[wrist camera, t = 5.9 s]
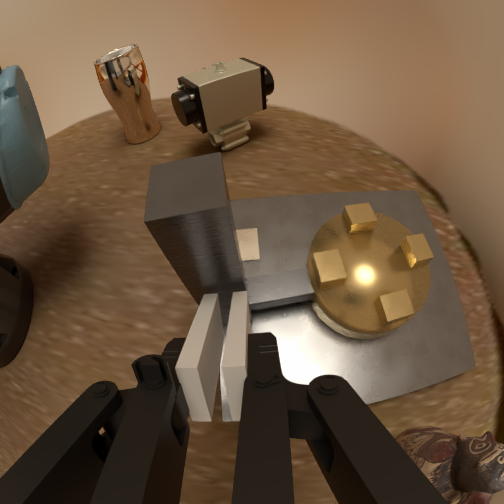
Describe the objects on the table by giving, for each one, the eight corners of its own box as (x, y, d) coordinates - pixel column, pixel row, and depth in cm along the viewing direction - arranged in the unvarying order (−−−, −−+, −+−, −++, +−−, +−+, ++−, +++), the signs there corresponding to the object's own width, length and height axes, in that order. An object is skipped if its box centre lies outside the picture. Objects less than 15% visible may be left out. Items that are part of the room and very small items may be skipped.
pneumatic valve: (276, 134, 36) (274, 55, 25) (200, 168, 33) (178, 84, 23) (254, 118, 38) (248, 46, 28) (183, 148, 36) (161, 73, 25)
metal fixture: (219, 371, 19) (140, 317, 7) (207, 254, 24) (158, 123, 13) (429, 320, 19) (535, 232, 8) (390, 224, 24) (442, 107, 13)
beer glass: (131, 124, 41) (105, 52, 28) (168, 118, 41) (146, 39, 28) (118, 149, 38) (83, 70, 25) (157, 142, 37) (127, 54, 24)
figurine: (457, 442, 15) (551, 439, 4) (414, 505, 12) (493, 541, 2) (410, 412, 17) (507, 404, 7) (361, 480, 15) (432, 529, 5)
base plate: (226, 419, 19) (222, 421, 17) (221, 214, 29) (217, 200, 27) (463, 371, 18) (476, 366, 16) (410, 201, 29) (416, 189, 27)
